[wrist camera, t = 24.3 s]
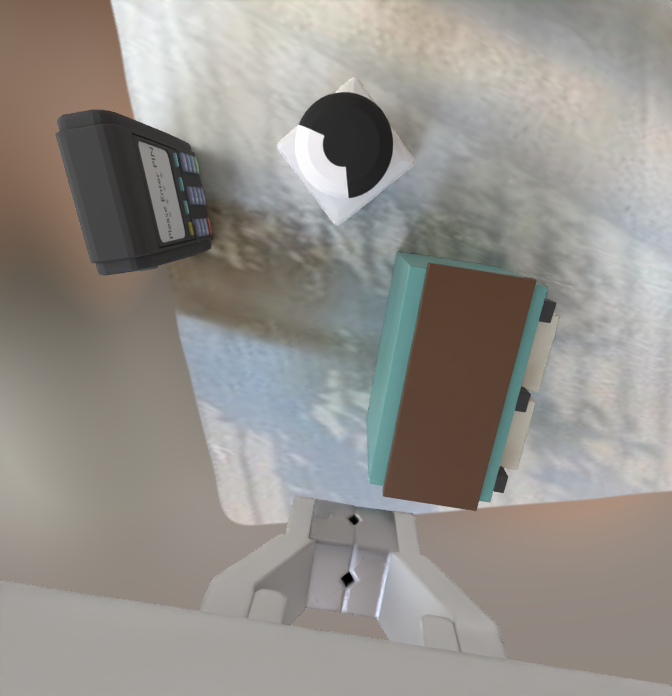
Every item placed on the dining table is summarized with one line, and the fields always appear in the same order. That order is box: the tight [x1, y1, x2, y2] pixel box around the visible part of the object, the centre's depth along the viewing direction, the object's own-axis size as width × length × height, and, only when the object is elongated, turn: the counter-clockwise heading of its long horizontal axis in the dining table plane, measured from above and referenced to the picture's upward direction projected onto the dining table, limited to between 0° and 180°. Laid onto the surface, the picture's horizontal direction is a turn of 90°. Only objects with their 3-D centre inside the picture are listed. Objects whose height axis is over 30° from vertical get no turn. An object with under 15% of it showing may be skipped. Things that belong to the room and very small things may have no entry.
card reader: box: [56, 110, 213, 275], centre depth 35 cm, size 9×4×15 cm, turn 8°
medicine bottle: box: [277, 77, 415, 226], centre depth 35 cm, size 7×7×12 cm
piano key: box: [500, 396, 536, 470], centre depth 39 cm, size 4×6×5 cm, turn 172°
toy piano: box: [367, 251, 556, 511], centre depth 39 cm, size 10×17×12 cm, turn 172°
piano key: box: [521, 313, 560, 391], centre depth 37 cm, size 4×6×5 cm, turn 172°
